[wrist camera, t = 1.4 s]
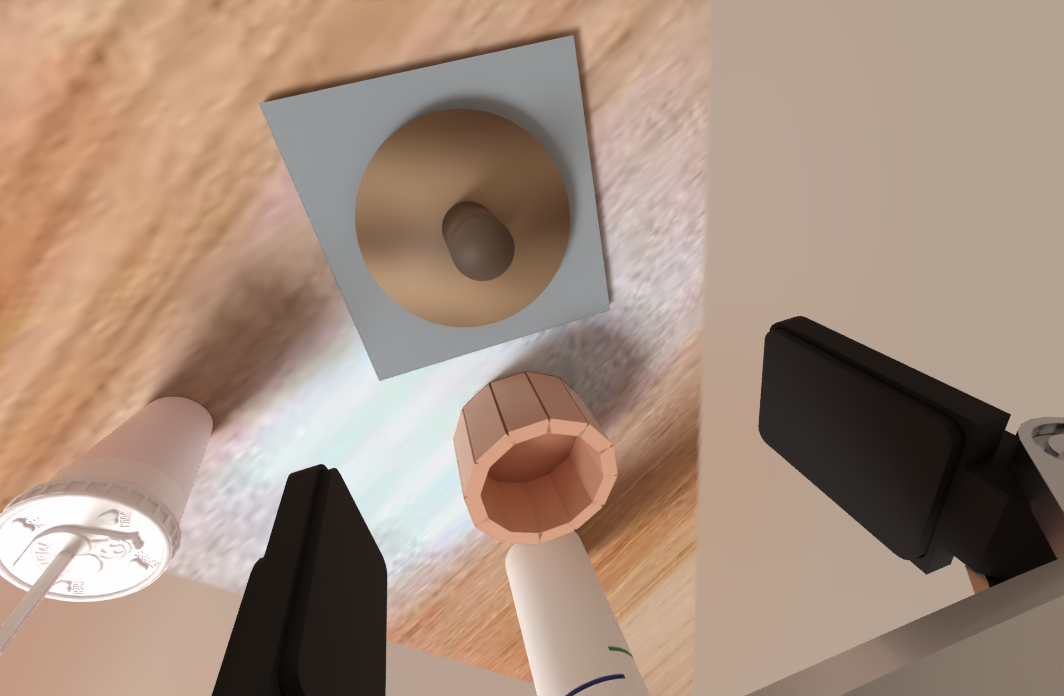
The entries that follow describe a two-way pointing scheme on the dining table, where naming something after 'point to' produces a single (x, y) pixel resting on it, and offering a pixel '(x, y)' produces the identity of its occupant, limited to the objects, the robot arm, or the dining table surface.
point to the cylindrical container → (569, 622)
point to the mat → (384, 107)
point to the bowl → (532, 459)
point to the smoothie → (105, 513)
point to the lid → (462, 218)
